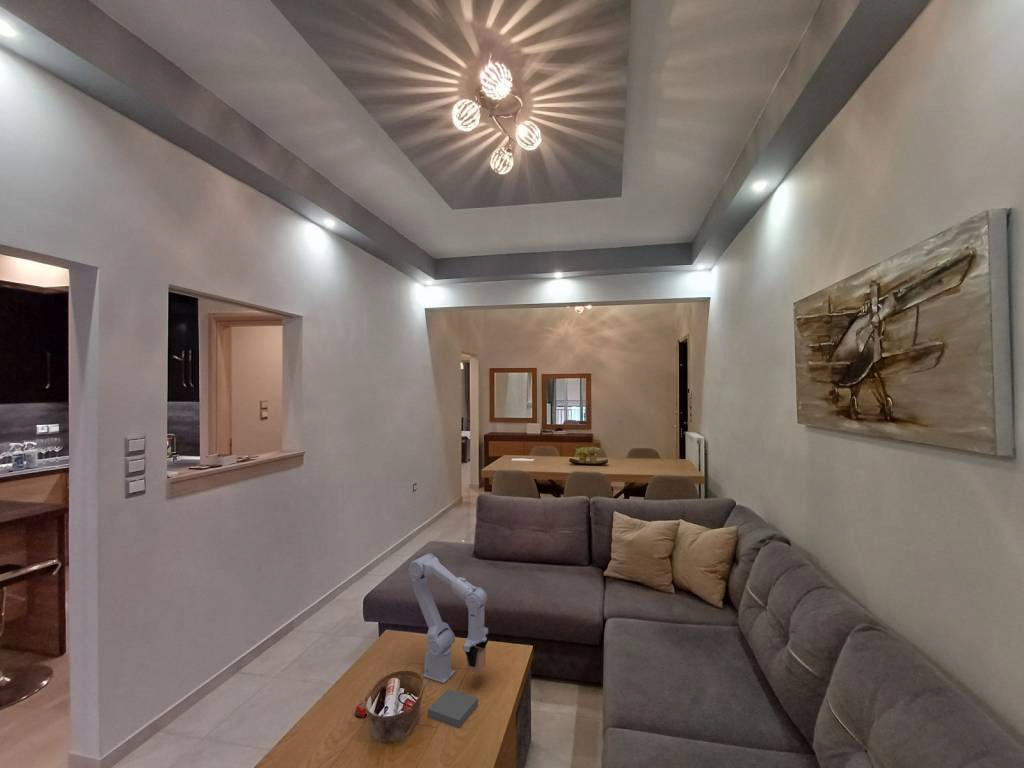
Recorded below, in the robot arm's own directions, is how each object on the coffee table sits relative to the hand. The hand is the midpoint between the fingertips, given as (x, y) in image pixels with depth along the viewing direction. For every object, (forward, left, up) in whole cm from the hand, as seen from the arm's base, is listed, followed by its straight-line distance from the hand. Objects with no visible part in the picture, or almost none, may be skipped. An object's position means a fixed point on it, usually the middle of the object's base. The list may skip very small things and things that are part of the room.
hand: (476, 662), depth 173 cm
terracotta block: (0, 0, -2) cm, 2 cm away
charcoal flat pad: (0, -15, -9) cm, 18 cm away
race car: (-25, -25, -9) cm, 36 cm away
